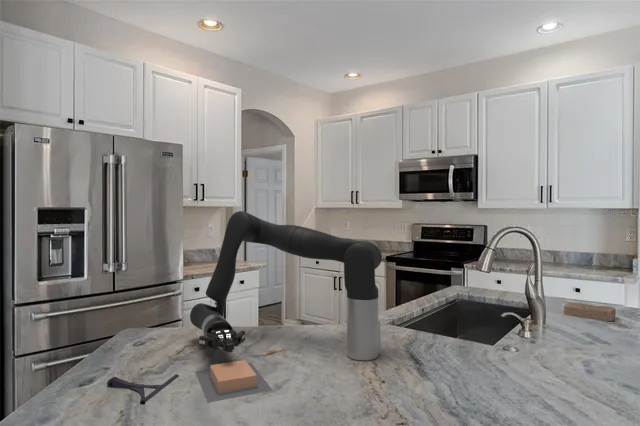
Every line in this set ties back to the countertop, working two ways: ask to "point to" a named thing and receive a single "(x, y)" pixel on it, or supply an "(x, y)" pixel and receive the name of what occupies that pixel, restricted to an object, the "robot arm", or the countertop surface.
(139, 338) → the countertop surface
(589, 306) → the brick
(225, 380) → the tile
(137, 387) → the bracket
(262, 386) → the mat
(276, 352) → the turner
